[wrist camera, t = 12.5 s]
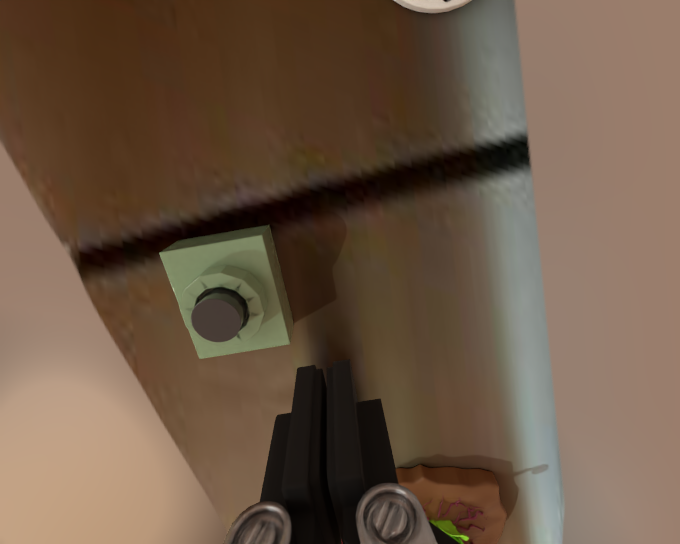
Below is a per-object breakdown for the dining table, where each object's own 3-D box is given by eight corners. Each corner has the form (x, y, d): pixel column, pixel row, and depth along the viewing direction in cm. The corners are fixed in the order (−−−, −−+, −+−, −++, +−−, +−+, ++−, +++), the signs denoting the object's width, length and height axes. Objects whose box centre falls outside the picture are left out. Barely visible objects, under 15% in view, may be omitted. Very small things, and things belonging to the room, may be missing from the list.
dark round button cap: (193, 292, 28) (183, 303, 26) (239, 284, 28) (233, 295, 26) (207, 333, 29) (199, 346, 27) (252, 325, 29) (246, 338, 27)
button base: (178, 240, 32) (146, 260, 26) (269, 224, 32) (257, 241, 26) (212, 337, 36) (191, 372, 30) (294, 323, 36) (288, 356, 30)
